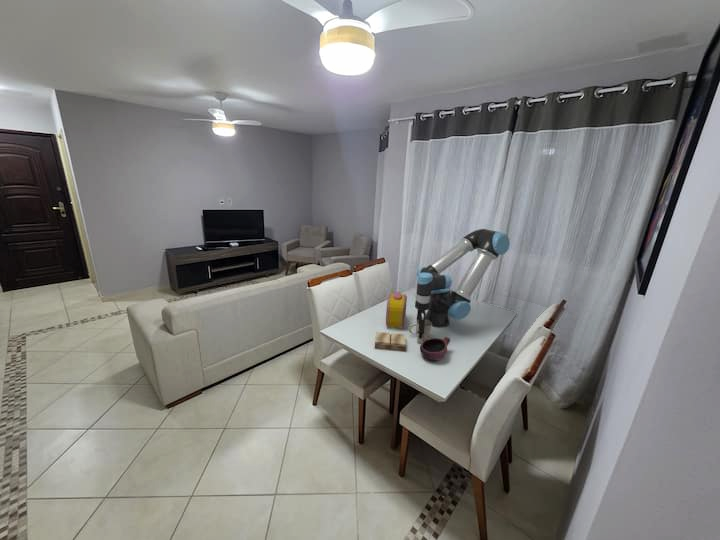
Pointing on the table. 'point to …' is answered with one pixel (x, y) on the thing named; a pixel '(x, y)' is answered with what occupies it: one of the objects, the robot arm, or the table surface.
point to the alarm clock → (396, 310)
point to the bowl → (434, 348)
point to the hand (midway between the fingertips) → (418, 337)
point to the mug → (426, 329)
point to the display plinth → (390, 341)
